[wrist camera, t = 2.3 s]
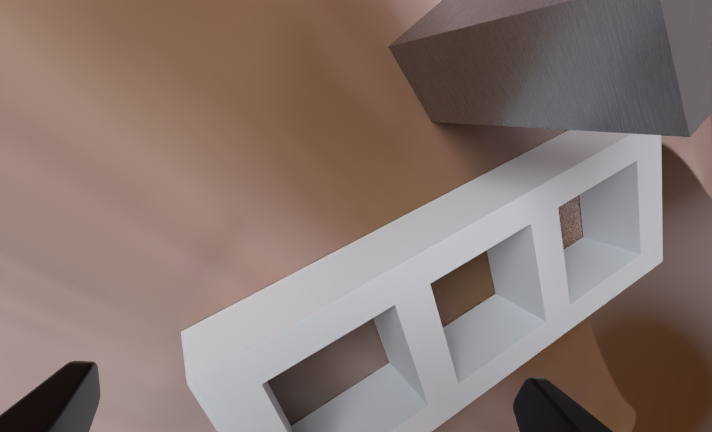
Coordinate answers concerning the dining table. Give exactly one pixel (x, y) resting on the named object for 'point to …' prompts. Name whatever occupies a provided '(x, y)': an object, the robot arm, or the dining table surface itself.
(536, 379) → the robot arm
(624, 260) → the white flat frame block
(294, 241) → the dining table surface
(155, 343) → the dining table surface
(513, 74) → the steel peg
